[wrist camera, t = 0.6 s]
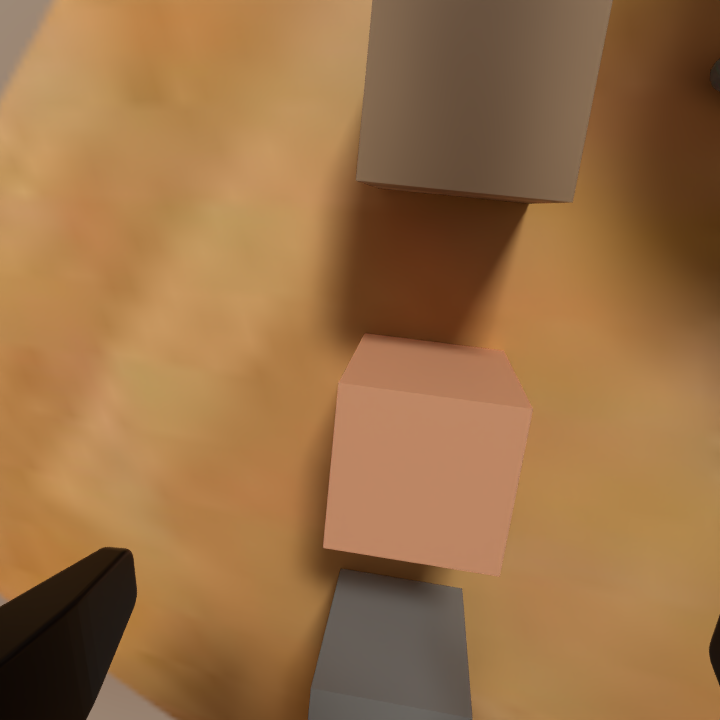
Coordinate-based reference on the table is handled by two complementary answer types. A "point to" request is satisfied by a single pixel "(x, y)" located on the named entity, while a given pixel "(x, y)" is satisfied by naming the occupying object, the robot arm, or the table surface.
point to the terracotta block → (426, 454)
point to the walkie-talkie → (715, 75)
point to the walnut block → (480, 96)
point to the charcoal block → (392, 652)
